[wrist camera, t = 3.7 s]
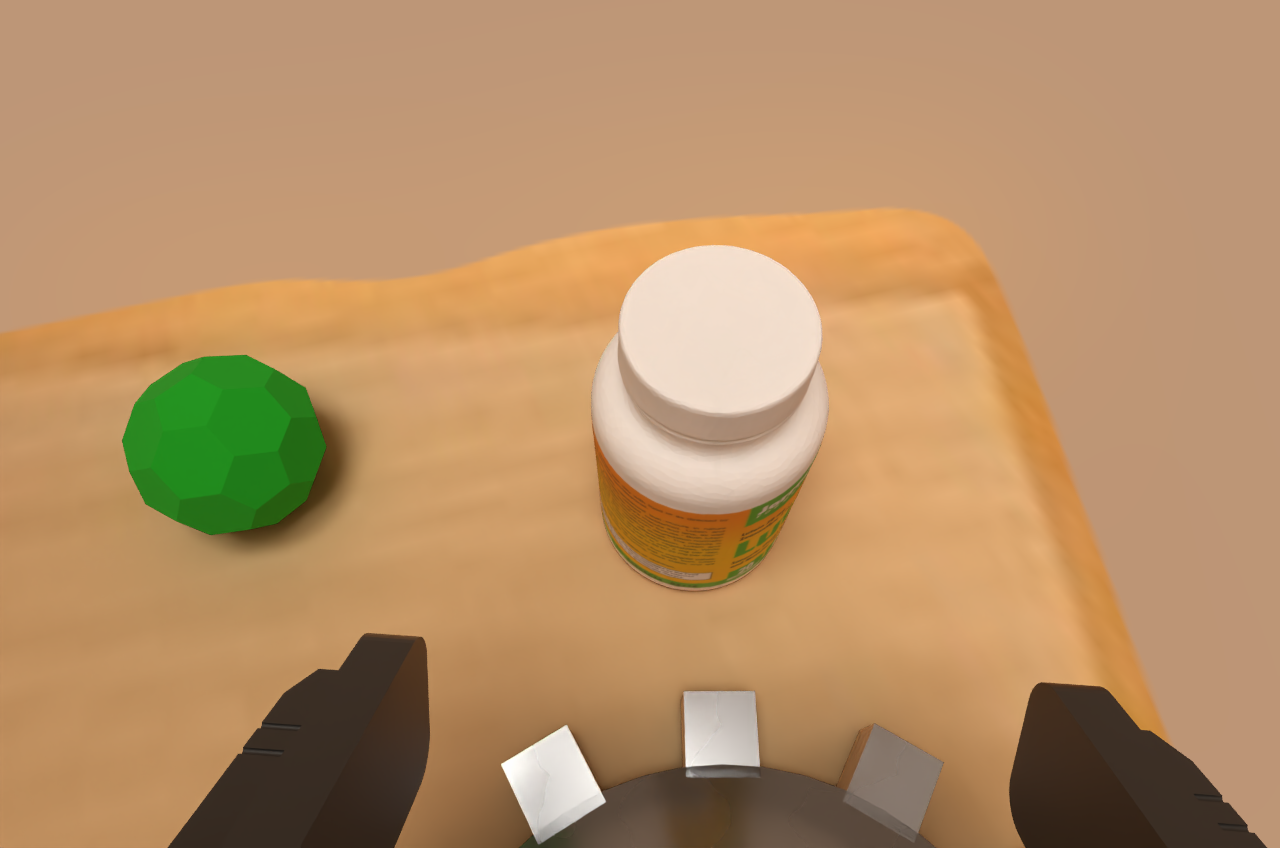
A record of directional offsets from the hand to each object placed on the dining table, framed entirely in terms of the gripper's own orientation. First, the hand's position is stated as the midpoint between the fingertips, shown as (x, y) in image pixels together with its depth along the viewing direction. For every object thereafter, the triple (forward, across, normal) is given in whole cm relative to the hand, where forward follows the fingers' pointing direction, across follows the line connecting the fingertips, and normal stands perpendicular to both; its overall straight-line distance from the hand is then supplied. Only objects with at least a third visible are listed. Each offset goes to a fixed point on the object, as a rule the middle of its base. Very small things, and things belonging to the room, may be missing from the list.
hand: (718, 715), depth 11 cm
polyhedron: (+13, +13, +3) cm, 19 cm away
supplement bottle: (+13, 0, +3) cm, 14 cm away
